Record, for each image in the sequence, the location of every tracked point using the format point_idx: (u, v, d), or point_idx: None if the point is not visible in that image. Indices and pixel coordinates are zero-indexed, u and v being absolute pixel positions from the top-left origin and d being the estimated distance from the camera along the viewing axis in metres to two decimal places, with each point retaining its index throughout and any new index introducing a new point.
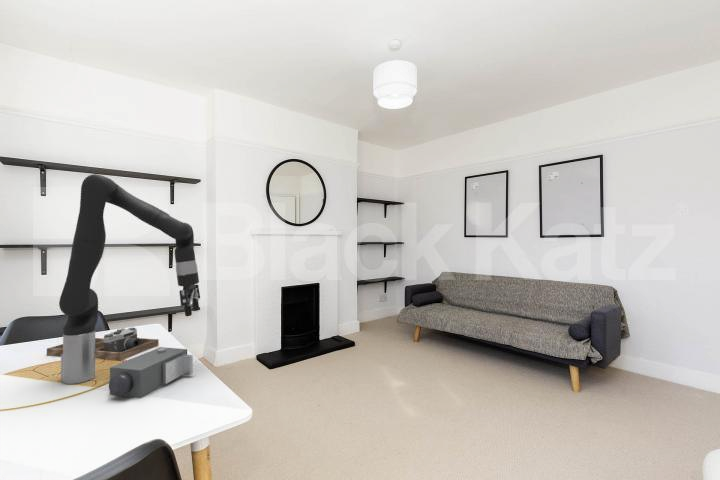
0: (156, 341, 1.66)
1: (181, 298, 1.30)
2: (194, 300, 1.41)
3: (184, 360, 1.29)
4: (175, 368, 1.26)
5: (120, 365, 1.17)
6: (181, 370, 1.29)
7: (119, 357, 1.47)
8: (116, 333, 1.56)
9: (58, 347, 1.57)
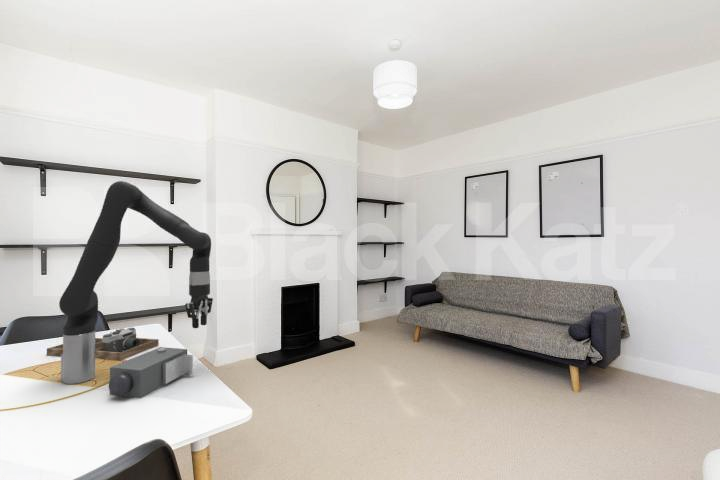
0: (156, 341, 1.66)
1: (187, 311, 1.31)
2: (203, 314, 1.39)
3: (184, 360, 1.29)
4: (175, 368, 1.26)
5: (120, 365, 1.17)
6: (181, 370, 1.29)
7: (119, 357, 1.47)
8: (115, 333, 1.56)
9: (58, 347, 1.57)
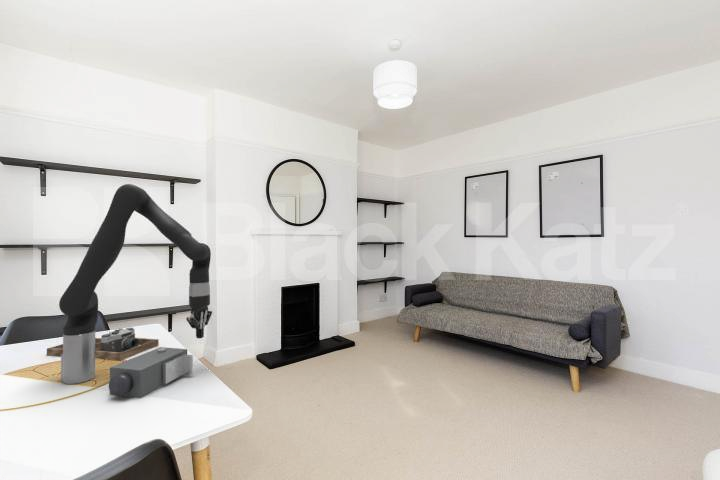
0: (156, 341, 1.66)
1: (190, 324, 1.32)
2: None
3: (184, 360, 1.29)
4: (175, 368, 1.26)
5: (120, 365, 1.17)
6: (181, 370, 1.29)
7: (119, 357, 1.47)
8: (114, 333, 1.56)
9: (58, 347, 1.57)
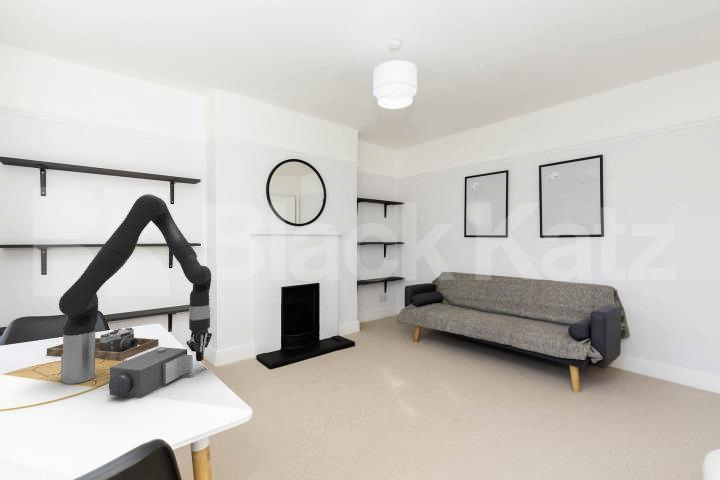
0: (156, 341, 1.66)
1: (190, 347, 1.32)
2: None
3: (184, 360, 1.29)
4: (175, 368, 1.26)
5: (120, 365, 1.17)
6: (181, 370, 1.29)
7: (119, 357, 1.47)
8: (113, 333, 1.56)
9: (58, 347, 1.57)
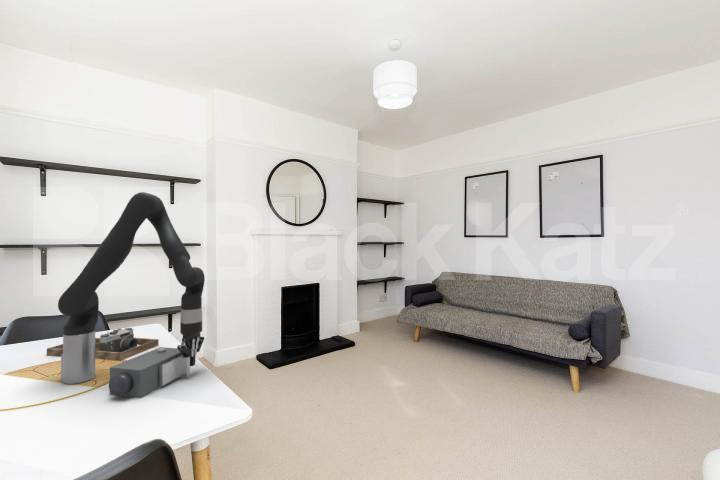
0: (156, 341, 1.66)
1: (181, 352, 1.28)
2: None
3: (181, 361, 1.28)
4: (172, 370, 1.24)
5: (120, 365, 1.17)
6: (178, 372, 1.27)
7: (119, 357, 1.47)
8: (112, 333, 1.56)
9: (58, 347, 1.57)
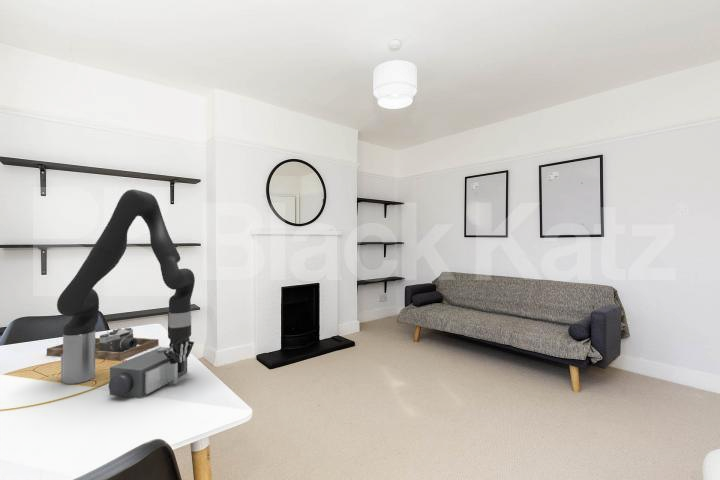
0: (156, 341, 1.66)
1: (168, 358, 1.22)
2: None
3: (168, 368, 1.22)
4: (158, 377, 1.18)
5: (120, 365, 1.17)
6: (165, 378, 1.21)
7: (119, 357, 1.47)
8: (112, 333, 1.56)
9: (58, 347, 1.57)
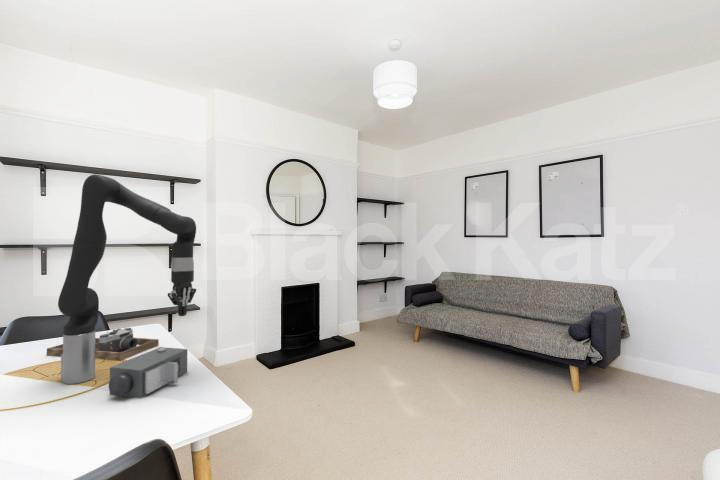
0: (156, 341, 1.66)
1: (171, 300, 1.26)
2: None
3: (168, 368, 1.22)
4: (158, 377, 1.18)
5: (120, 365, 1.17)
6: (165, 378, 1.21)
7: (119, 357, 1.47)
8: (112, 333, 1.56)
9: (58, 347, 1.57)
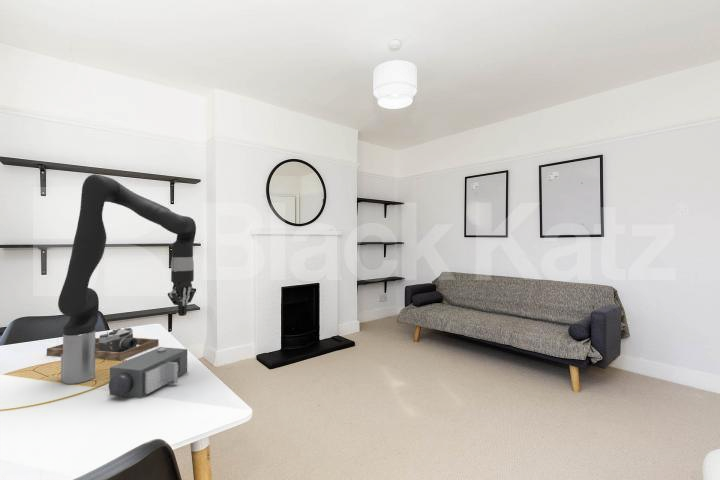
0: (156, 341, 1.66)
1: (172, 300, 1.26)
2: None
3: (168, 368, 1.22)
4: (158, 377, 1.18)
5: (120, 365, 1.17)
6: (165, 378, 1.21)
7: (119, 357, 1.47)
8: (112, 333, 1.56)
9: (58, 347, 1.57)
